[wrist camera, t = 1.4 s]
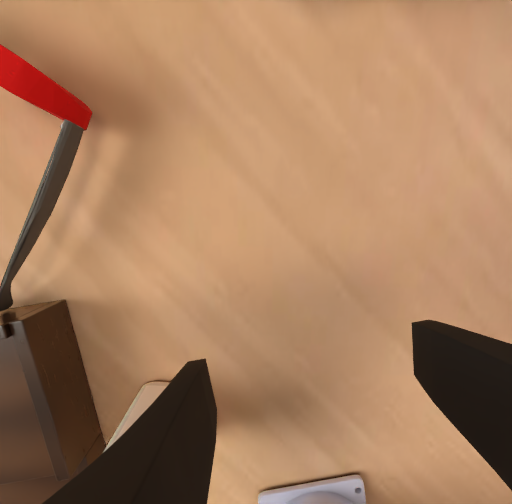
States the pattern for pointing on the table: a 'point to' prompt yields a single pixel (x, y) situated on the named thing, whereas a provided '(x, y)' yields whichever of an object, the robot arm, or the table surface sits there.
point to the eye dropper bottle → (138, 407)
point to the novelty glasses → (75, 121)
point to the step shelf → (43, 404)
